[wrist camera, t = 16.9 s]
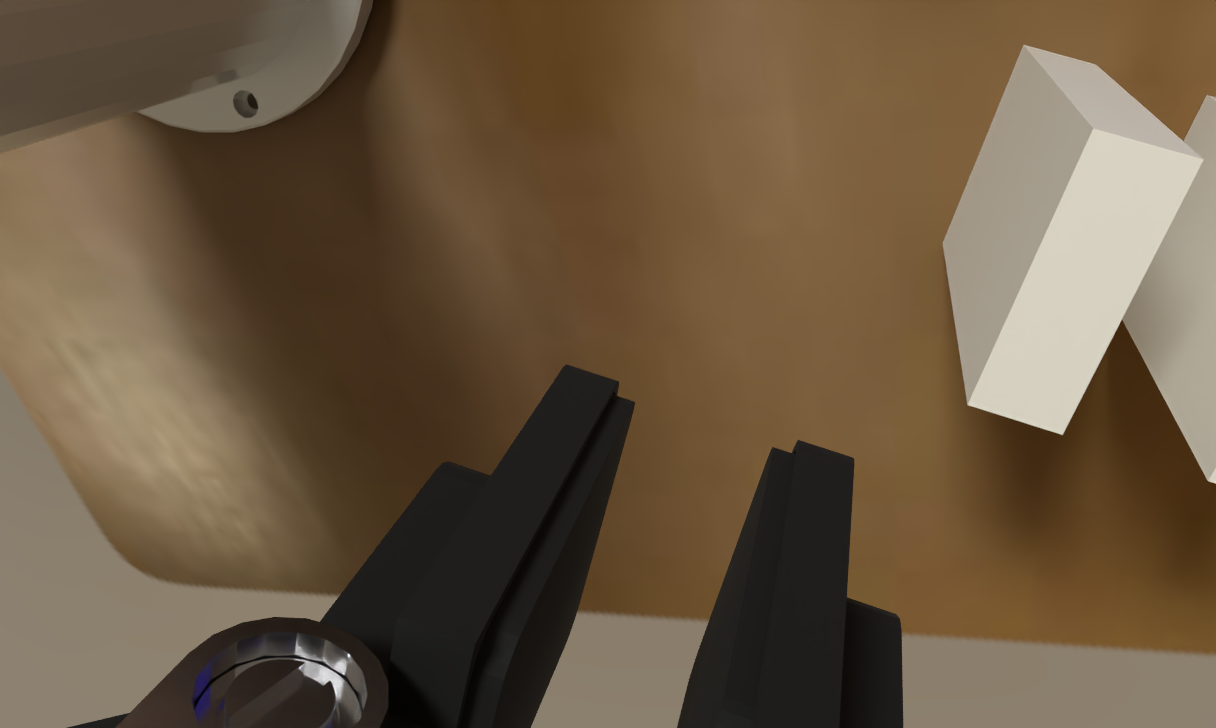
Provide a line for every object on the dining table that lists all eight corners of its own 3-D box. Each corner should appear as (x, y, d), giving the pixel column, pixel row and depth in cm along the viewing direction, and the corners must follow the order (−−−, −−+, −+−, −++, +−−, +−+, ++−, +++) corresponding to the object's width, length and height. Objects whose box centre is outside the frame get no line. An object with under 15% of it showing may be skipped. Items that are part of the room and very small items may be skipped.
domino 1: (942, 243, 31) (967, 405, 22) (1023, 44, 29) (1093, 128, 19) (1007, 263, 31) (1062, 435, 22) (1096, 64, 28) (1203, 159, 19)
